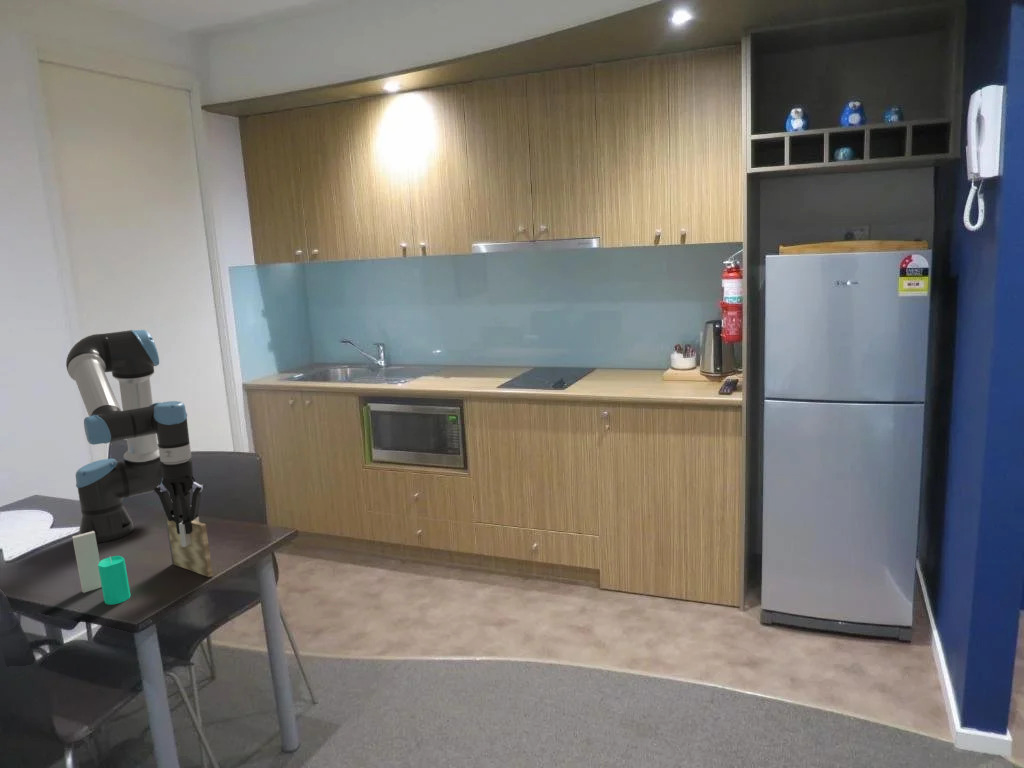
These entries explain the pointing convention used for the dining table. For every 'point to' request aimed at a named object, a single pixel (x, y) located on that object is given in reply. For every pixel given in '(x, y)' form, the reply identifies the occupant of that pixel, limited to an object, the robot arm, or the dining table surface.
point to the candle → (114, 580)
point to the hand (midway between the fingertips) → (186, 544)
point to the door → (191, 549)
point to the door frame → (94, 559)
